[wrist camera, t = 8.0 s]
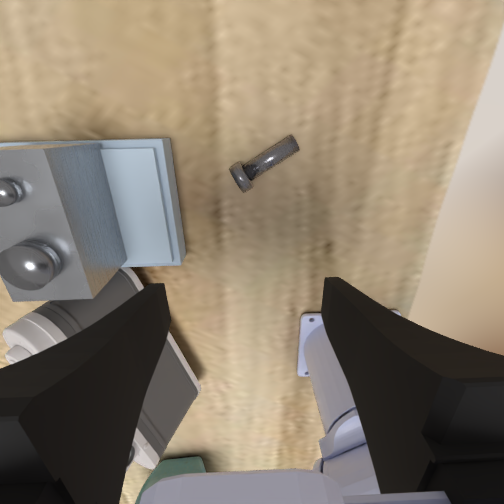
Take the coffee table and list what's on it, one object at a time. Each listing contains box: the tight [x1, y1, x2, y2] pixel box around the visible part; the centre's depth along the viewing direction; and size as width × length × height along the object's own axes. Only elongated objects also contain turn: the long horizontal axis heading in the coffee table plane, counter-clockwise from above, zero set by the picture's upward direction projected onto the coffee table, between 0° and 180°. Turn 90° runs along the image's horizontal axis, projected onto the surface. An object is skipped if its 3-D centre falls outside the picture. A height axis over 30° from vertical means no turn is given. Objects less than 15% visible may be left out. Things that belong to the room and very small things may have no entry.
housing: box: [0, 143, 128, 302], centre depth 15 cm, size 4×8×6 cm, turn 1°
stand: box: [0, 138, 186, 267], centre depth 19 cm, size 12×9×2 cm
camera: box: [3, 267, 201, 471], centre depth 22 cm, size 9×16×10 cm, turn 20°
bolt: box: [229, 135, 300, 193], centre depth 19 cm, size 5×2×2 cm, turn 121°
